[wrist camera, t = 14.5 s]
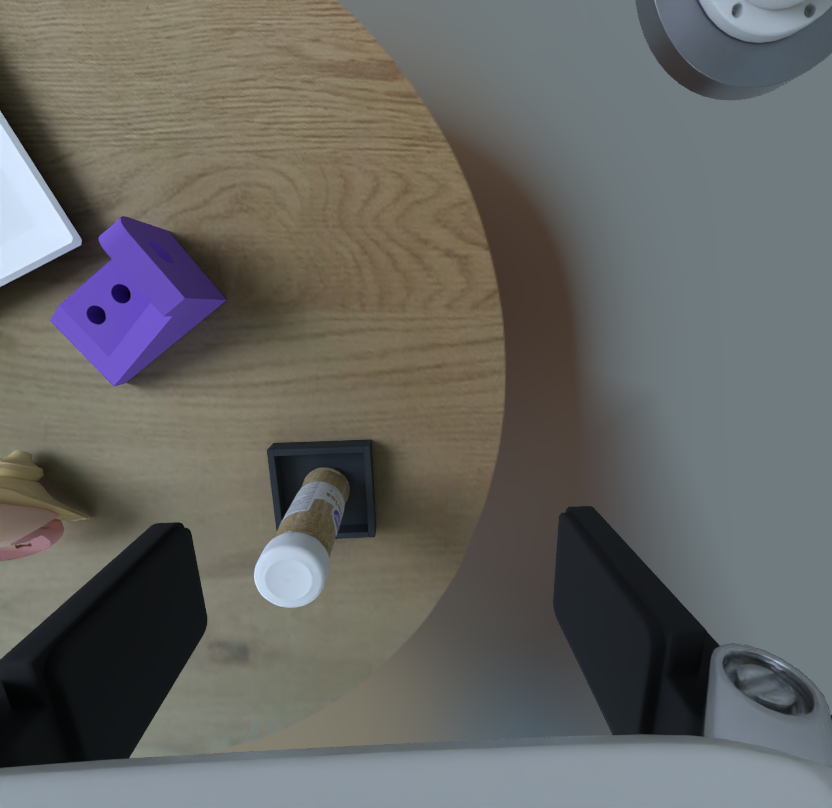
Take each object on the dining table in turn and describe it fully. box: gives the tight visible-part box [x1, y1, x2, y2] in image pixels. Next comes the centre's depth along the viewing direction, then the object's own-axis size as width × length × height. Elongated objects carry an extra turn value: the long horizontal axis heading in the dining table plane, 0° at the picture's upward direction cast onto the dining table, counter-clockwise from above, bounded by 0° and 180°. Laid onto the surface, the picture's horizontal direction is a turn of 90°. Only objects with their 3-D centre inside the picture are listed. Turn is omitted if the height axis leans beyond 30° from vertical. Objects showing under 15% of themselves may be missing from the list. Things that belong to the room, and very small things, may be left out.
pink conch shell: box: [0, 451, 92, 561], centre depth 35 cm, size 9×10×10 cm
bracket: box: [50, 216, 226, 386], centre depth 31 cm, size 12×7×7 cm, turn 127°
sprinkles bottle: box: [254, 467, 350, 608], centre depth 32 cm, size 5×5×14 cm
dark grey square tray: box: [267, 440, 376, 539], centre depth 38 cm, size 9×9×2 cm
